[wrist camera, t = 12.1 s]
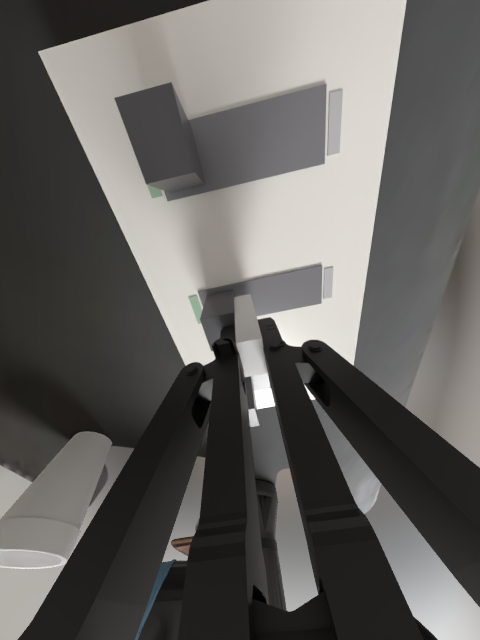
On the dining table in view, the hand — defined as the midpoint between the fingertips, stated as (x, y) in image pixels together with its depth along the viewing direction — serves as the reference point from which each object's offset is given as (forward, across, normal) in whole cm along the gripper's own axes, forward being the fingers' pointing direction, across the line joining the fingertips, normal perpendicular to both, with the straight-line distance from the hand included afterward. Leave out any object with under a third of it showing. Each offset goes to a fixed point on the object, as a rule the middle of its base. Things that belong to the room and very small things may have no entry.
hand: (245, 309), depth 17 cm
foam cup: (+5, +31, +22) cm, 38 cm away
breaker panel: (+4, -2, 0) cm, 5 cm away
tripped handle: (+1, +2, 0) cm, 2 cm away
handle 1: (+1, +2, -11) cm, 11 cm away
